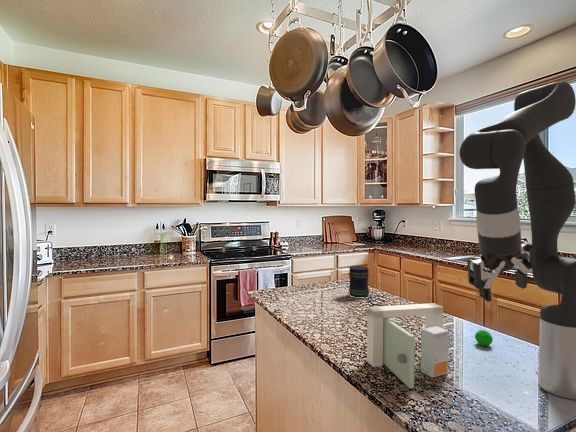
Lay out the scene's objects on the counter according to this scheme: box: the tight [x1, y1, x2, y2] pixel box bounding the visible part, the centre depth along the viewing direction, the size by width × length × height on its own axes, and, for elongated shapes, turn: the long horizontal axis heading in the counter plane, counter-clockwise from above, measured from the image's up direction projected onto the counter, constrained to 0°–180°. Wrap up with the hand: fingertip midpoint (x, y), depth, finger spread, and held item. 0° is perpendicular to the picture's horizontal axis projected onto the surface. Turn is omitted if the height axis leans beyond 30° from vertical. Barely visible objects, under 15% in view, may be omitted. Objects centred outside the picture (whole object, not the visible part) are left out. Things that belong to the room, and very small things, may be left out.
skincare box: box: [420, 326, 450, 379], centre depth 90 cm, size 6×4×12 cm
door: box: [383, 317, 416, 389], centre depth 89 cm, size 16×3×13 cm, turn 12°
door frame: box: [366, 302, 444, 368], centre depth 97 cm, size 22×4×16 cm, turn 102°
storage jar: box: [348, 265, 370, 298], centre depth 168 cm, size 10×10×15 cm
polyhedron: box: [474, 329, 494, 347], centre depth 109 cm, size 5×5×5 cm
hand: (503, 293), depth 73 cm, fingers open, 8 cm apart
